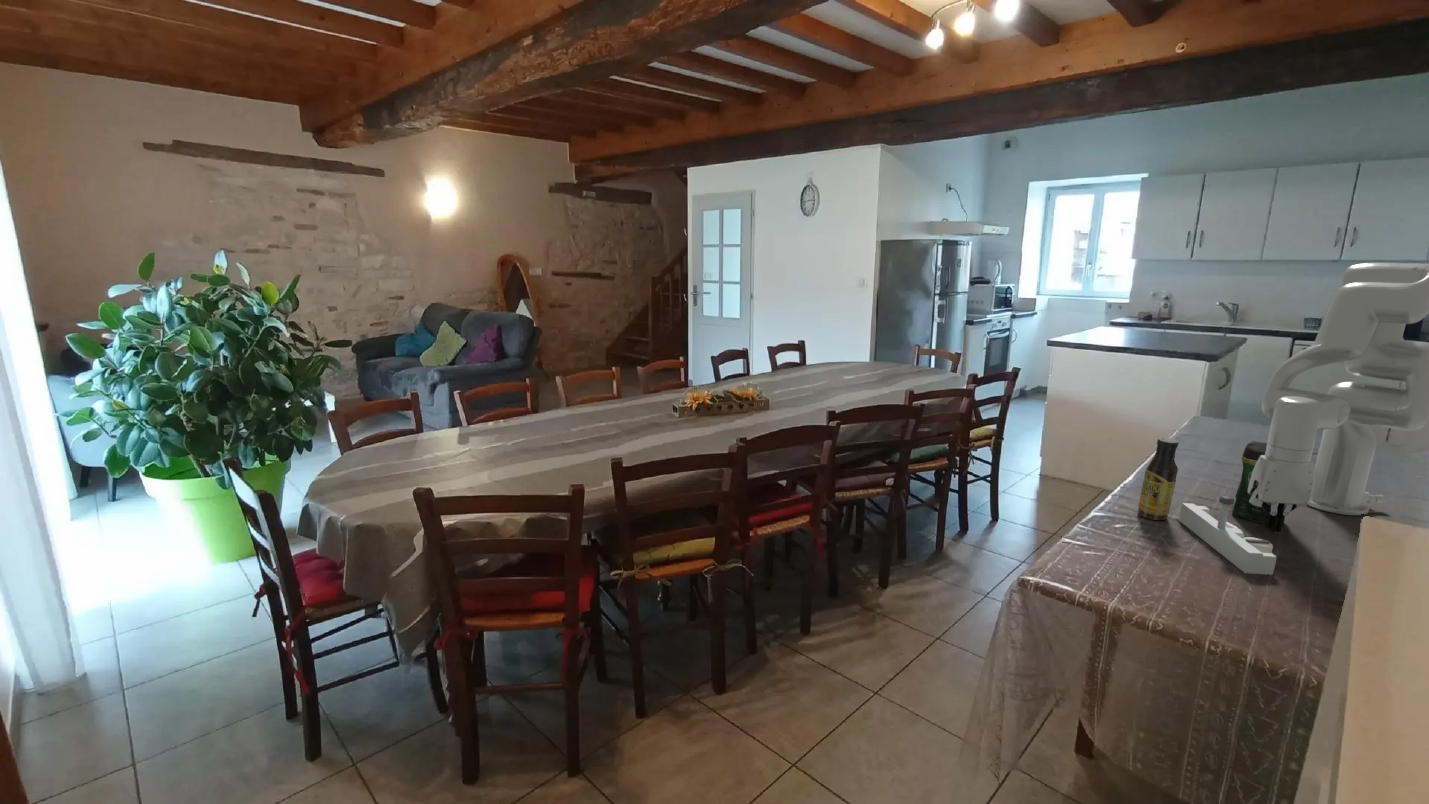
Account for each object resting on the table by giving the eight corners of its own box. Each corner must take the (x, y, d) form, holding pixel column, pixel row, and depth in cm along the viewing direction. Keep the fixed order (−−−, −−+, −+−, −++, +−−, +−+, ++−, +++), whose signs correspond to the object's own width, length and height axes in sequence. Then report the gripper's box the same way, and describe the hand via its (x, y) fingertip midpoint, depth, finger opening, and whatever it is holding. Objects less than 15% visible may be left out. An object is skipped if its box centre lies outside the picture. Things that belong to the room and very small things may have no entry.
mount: (1201, 521, 151) (1210, 476, 148) (1272, 574, 127) (1284, 522, 124) (1178, 520, 152) (1187, 475, 149) (1244, 572, 128) (1256, 520, 125)
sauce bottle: (1131, 511, 157) (1143, 435, 152) (1154, 510, 158) (1167, 434, 153) (1150, 523, 151) (1164, 443, 146) (1175, 521, 151) (1189, 442, 146)
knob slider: (1259, 555, 135) (1263, 535, 134) (1275, 566, 130) (1279, 546, 129) (1232, 553, 136) (1236, 534, 135) (1247, 564, 131) (1252, 545, 130)
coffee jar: (1286, 519, 152) (1303, 445, 147) (1278, 528, 147) (1295, 453, 142) (1235, 506, 159) (1250, 436, 154) (1226, 515, 154) (1241, 443, 150)
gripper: (1314, 448, 140) (1297, 523, 145) (1239, 446, 143) (1224, 521, 148) (1341, 460, 133) (1322, 539, 138) (1260, 458, 136) (1245, 535, 140)
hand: (1271, 529), depth 143 cm, fingers closed
